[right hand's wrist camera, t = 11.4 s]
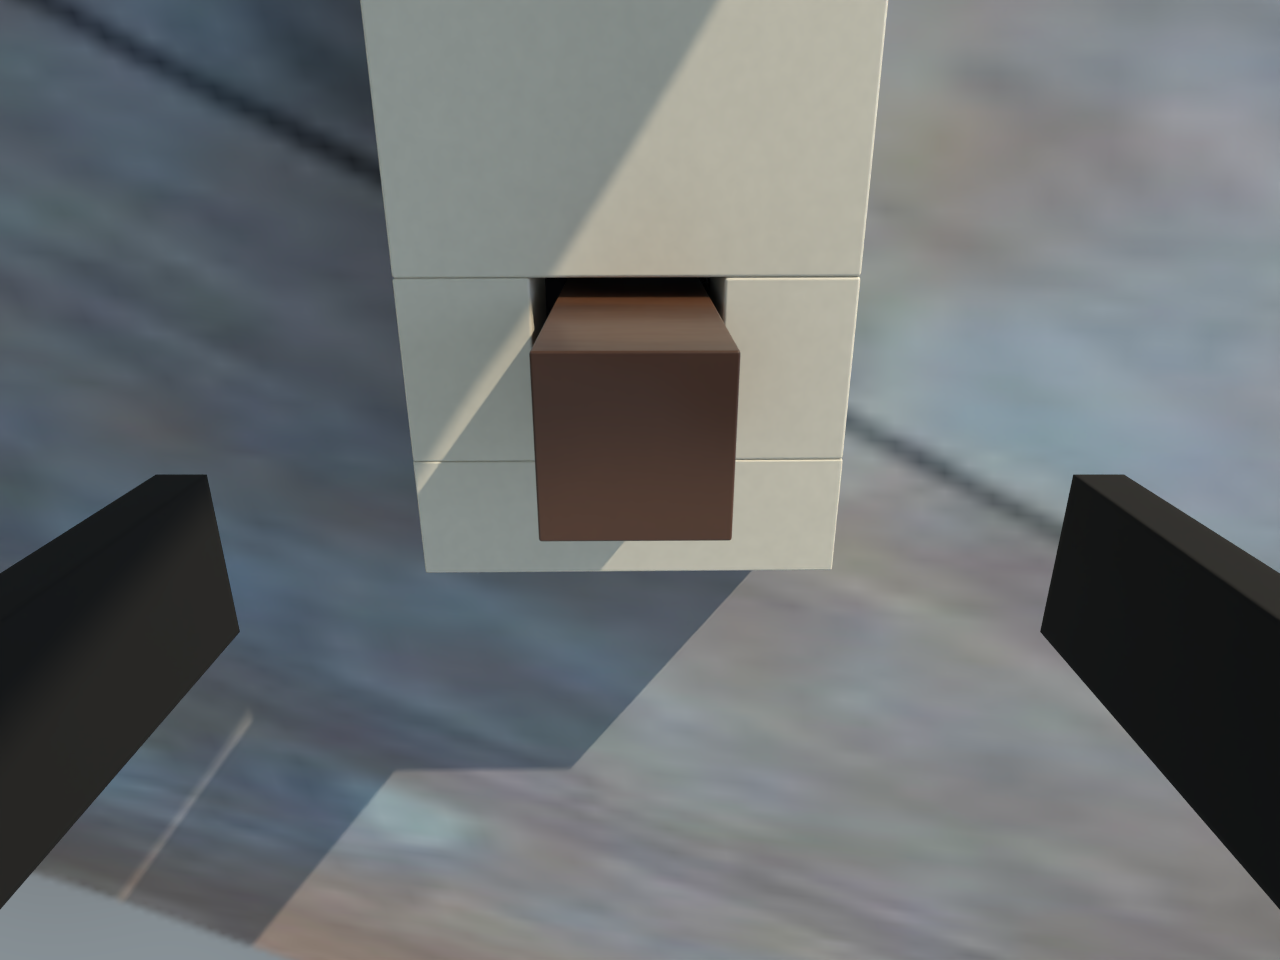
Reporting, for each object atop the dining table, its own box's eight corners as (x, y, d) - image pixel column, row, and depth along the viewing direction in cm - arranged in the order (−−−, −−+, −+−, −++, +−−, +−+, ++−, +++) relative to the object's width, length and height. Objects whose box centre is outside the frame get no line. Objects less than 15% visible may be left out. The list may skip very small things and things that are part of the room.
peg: (695, 403, 26) (731, 541, 17) (571, 404, 26) (538, 542, 17) (698, 277, 24) (741, 350, 15) (567, 277, 24) (528, 351, 15)
